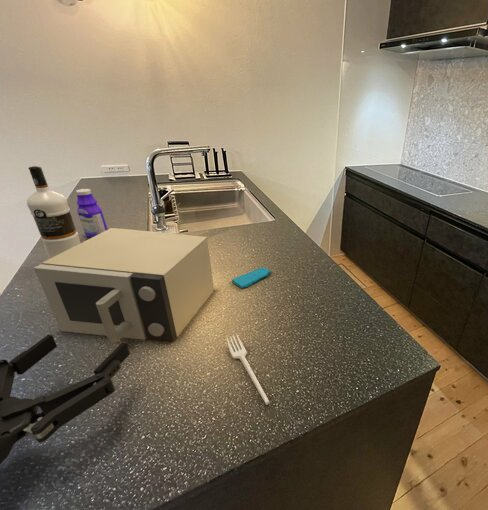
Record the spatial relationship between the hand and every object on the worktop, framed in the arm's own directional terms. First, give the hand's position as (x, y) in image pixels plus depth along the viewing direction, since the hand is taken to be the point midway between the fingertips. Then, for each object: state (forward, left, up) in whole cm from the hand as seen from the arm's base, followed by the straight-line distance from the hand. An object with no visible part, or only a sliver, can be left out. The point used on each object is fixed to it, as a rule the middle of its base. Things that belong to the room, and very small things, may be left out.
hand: (89, 344), depth 55 cm
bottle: (-49, +60, -9) cm, 78 cm away
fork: (+26, +6, -10) cm, 29 cm away
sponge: (+16, +41, -9) cm, 45 cm away
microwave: (-6, +22, -9) cm, 24 cm away
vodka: (-41, +39, -9) cm, 57 cm away
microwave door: (-9, +9, -9) cm, 16 cm away
